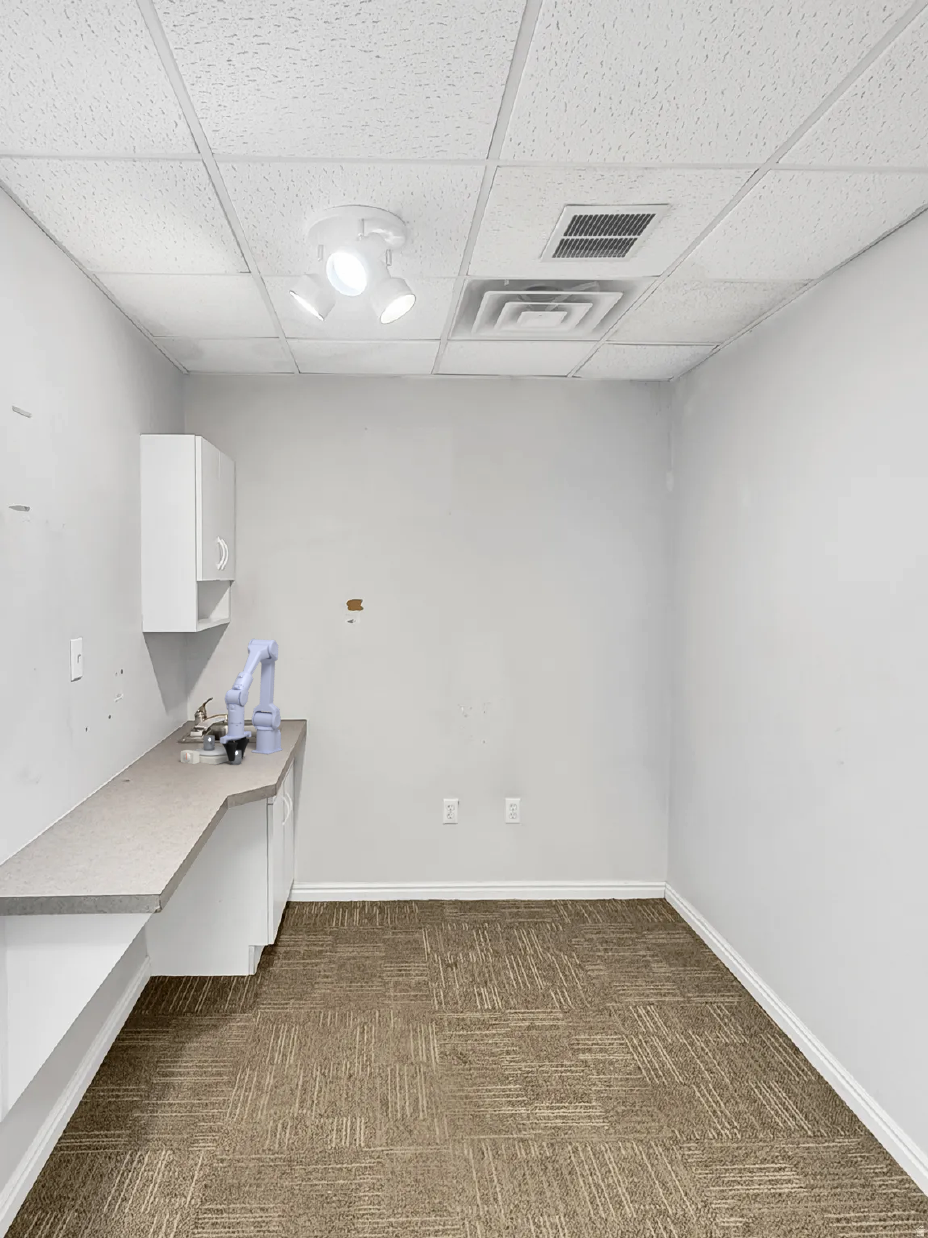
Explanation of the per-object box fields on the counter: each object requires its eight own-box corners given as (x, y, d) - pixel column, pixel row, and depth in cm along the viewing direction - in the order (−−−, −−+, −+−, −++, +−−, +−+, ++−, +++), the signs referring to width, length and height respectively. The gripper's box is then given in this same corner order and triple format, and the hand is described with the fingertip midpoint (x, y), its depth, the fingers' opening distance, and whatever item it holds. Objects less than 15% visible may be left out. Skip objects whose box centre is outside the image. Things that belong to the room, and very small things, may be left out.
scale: (212, 751, 322) (212, 741, 322) (244, 756, 315) (245, 745, 315) (173, 761, 304) (173, 750, 304) (207, 766, 297) (207, 755, 297)
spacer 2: (235, 762, 306) (235, 748, 305) (243, 763, 304) (243, 749, 304) (227, 764, 302) (227, 750, 302) (236, 765, 300) (236, 751, 300)
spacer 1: (208, 748, 315) (208, 735, 314) (216, 749, 313) (217, 735, 313) (201, 750, 311) (201, 736, 311) (210, 751, 309) (210, 737, 309)
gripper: (240, 718, 310) (240, 754, 311) (213, 724, 297) (213, 762, 298) (256, 720, 307) (255, 757, 308) (229, 726, 294) (228, 764, 295)
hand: (235, 759), depth 303 cm, fingers closed on spacer 2, 4 cm apart
